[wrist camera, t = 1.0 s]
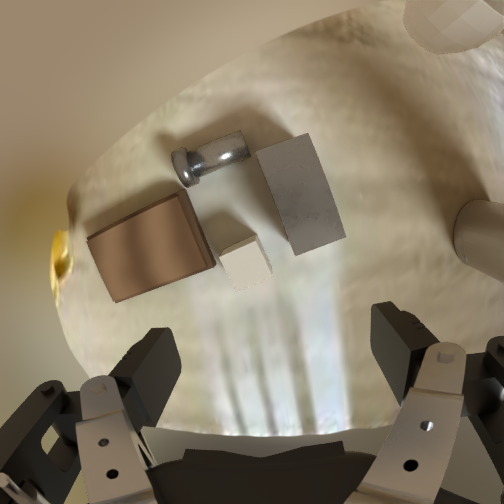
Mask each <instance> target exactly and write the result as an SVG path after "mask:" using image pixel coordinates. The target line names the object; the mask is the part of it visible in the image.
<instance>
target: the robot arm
mask: <svg viewBox="0 0 504 504" xmlns="http://www.w3.org/2000/svg"><path fill="white" fill-rule="evenodd" d="M454 246H455V250H456V253H457V255H458V257H459V258H460V260H461V261H462V262H463V263H465V264H467V265H469V266H471V267H473V268H475V269H477V270H479V271H481V272H483V273H485V274H487V275H489V276H491V277H493V278H495V279H497V280H499V281H500V282H502V283H504V204H503V203H497V202H491V201H484V200H472V201H470V202H468V203H467V204H466V205H465V206H464V207H463V208H462V210H461V211H460V213H459V215H458V217H457V220H456V223H455V228H454ZM370 343H371V349H372V353H373V355H374V357H375V359H376V361H377V363H378V364H379V366H380V368H381V370H382V372H383V374H384V376H385V378H386V380H387V382H388V383H389V385H390V387H391V389H392V391H393V393H394V395H395V397H396V399H397V401H398V403H399V405H400V407H402V408H401V410H400V412H399V414H398V416H397V419H396V421H395V423H394V425H393V427H392V429H391V431H390V433H389V435H388V437H387V439H386V441H385V443H384V445H383V447H382V448H381V450H380V452H379V454H378V456H375V455H372V454H368V453H363V452H355V451H344V447H343V442H342V441H338V442H333V443H326V444H319V445H312V446H304V447H300V448H297V449H293V450H290V451H286V452H283V453H279V454H275V455H272V456H268V457H263V458H262V457H261V458H259V457H252V456H246V455H240V454H236V453H231V452H226V451H217V450H215V451H214V450H195V449H194V450H193V449H186V450H185V453H184V456H183V459H179V460H174V461H169V462H166V463H162V464H160V465H157V463H156V461H155V459H154V457H153V455H152V453H151V451H150V448H149V446H148V444H147V442H146V440H145V437H144V435H143V434H142V432H141V429H142V427H143V426H147V427H156V425H157V423H158V420H159V418H160V416H161V414H162V412H163V410H164V408H165V405H166V403H167V401H168V399H169V397H170V395H171V393H172V390H173V388H174V386H175V384H176V382H177V380H178V378H179V376H180V373H181V359H180V356H179V353H178V350H177V346H176V343H175V340H174V336H173V333H172V331H171V329H170V328H168V327H167V328H151V329H150V330H149V332H148V333H147V334H146V335H145V337H144V338H143V339H142V340H140V341H139V342H137V343H136V344H134V345H133V346H132V347H131V348H130V349H129V350H128V351H127V354H125V355H124V356H123V358H122V360H120V361H119V363H118V364H117V365H116V366H115V367H114V369H113V370H112V371H111V372H110V374H109V375H108V376H106V375H102V376H97V377H94V378H91V379H89V380H88V381H86V382H85V383H84V384H83V385H82V387H81V389H80V391H74V392H67V391H66V389H65V388H64V386H63V384H62V382H60V381H57V380H51V381H47V382H44V383H43V384H41V385H39V386H38V387H37V388H36V389H35V390H34V391H33V392H32V393H31V394H30V395H29V396H28V398H27V399H26V400H25V401H24V402H23V403H22V404H21V405H20V406H19V407H18V409H17V410H16V411H15V412H14V413H13V414H12V415H11V417H10V418H9V419H8V420H7V421H6V422H5V423H4V425H3V426H2V427H1V428H0V504H64V502H65V500H66V497H67V496H68V494H69V492H70V490H71V488H72V486H73V484H74V482H75V480H76V478H77V476H78V474H79V472H80V470H81V469H82V473H83V478H84V483H85V487H86V492H87V496H88V500H89V503H88V504H479V503H476V502H474V501H471V500H469V499H466V498H464V497H461V496H459V495H457V494H454V493H452V492H450V491H447V490H445V489H443V488H441V487H440V485H441V482H442V479H443V476H444V474H445V471H446V467H447V465H448V462H449V458H450V455H451V452H452V448H453V445H454V441H455V437H456V433H457V429H458V425H459V420H460V417H464V416H468V418H469V419H470V421H471V423H472V425H473V426H474V428H475V430H476V432H477V433H478V435H479V437H480V439H481V441H482V443H483V445H484V446H485V448H486V450H487V452H488V454H489V456H490V458H491V460H492V462H493V464H494V466H495V468H496V470H497V472H498V474H499V476H500V478H501V480H502V483H503V485H504V336H497V337H494V338H492V339H490V340H489V341H488V343H487V347H486V350H485V352H483V353H475V354H466V351H465V350H464V349H463V348H462V347H461V346H459V345H458V344H455V343H451V342H440V341H439V340H438V339H437V338H436V337H435V336H434V335H433V334H432V333H431V332H430V331H429V330H428V329H427V328H425V326H424V324H423V323H422V322H421V323H420V320H419V319H418V318H417V317H416V316H415V315H413V314H411V313H409V312H407V311H400V310H399V309H398V308H397V307H396V306H395V305H394V304H393V303H392V302H391V301H388V302H383V303H377V304H373V305H372V308H371V336H370ZM51 425H52V427H53V428H54V430H55V431H56V433H57V434H58V435H59V438H58V439H57V441H56V442H55V444H54V445H53V447H52V448H51V450H50V451H49V453H48V454H46V453H45V452H44V450H43V449H42V446H41V439H42V437H43V435H44V434H45V433H46V431H47V430H48V428H49V427H50V426H51ZM500 502H501V503H500V504H504V487H503V489H502V491H501V495H500Z"/></svg>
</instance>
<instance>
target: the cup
mask: <svg viewBox="0 0 504 504" xmlns="http://www.w3.org/2000/svg"><path fill="white" fill-rule="evenodd" d="M403 22H404V25H405V28H406V30H407V31H408V33H409V35H410V36H411V37H412V38H413V39H414V40H415V41H416V42H417V43H418V44H419V45H420V46H421V47H423V48H424V49H426V50H427V51H429V52H432V53H435V54H438V55H439V54H448V53H459V52H463V51H466V50H470V49H474V48H477V47H479V46H481V45H482V44H484V43H485V42H487V41H489V40H490V39H492V38H494V37H495V36H497V35H498V34H499V33H500V32H501V31H502V30H503V29H504V0H407V1H406V6H405V11H404V16H403Z"/></svg>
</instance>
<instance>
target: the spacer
mask: <svg viewBox="0 0 504 504" xmlns="http://www.w3.org/2000/svg"><path fill="white" fill-rule="evenodd" d="M219 259H220V261H221V263H222V264H223V266H224V268H225V270H226V272H227V274H228V276H229V278H230V280H231V282H232V284H233V286H234V288H235V290H236V292H238V291H241V290H243V289H245V288H248V287H250V286H252V285H255V284H257V283H259V282H262V281H264V280H266V279H269V278H271V277H273V272H272V265H271V263H270V261H269V258H268V256H267V254H266V252H265V250H264V248H263V246H262V244H261V241H260V239H259V237H258V235H257V234H256V235H254V236H251V237H249V238H247V239H245V240H243V241H241V242H238V243H236V244H234V245H232V246H230V247H228V248H225V249H224V250H223V252H222V253H221V255H220V257H219Z"/></svg>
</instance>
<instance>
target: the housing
mask: <svg viewBox="0 0 504 504" xmlns="http://www.w3.org/2000/svg"><path fill="white" fill-rule="evenodd" d="M256 156H257V159H258V161H259V164H260V166H261V169H262V171H263V174H264V176H265V179H266V181H267V184H268V186H269V189H270V192H271V194H272V197H273V199H274V202H275V204H276V207H277V210H278V212H279V215H280V217H281V220H282V223H283V225H284V228H285V231H286V233H287V237H288V240H289V242H290V245H291V247H292V250H293V252H294V255H296V256H297V255H300V254H302V253H305V252H308V251H310V250H313V249H316V248H318V247H321V246H324V245H326V244H329V243H332V242H334V241H337V240H339V239H342V238H345V237H346V235H345V232H344V229H343V225H342V222H341V219H340V216H339V213H338V210H337V207H336V205H335V202H334V199H333V196H332V193H331V190H330V188H329V185H328V182H327V179H326V177H325V174H324V171H323V169H322V166H321V163H320V161H319V158H318V156H317V153H316V151H315V148H314V146H313V143H312V141H311V138H310V136H309V134H308V133H306V134H303V135H300V136H297V137H294V138H291V139H288V140H286V141H283V142H280V143H277V144H274V145H272V146H269V147H266V148H264V149H261V150H258V151H256Z"/></svg>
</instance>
